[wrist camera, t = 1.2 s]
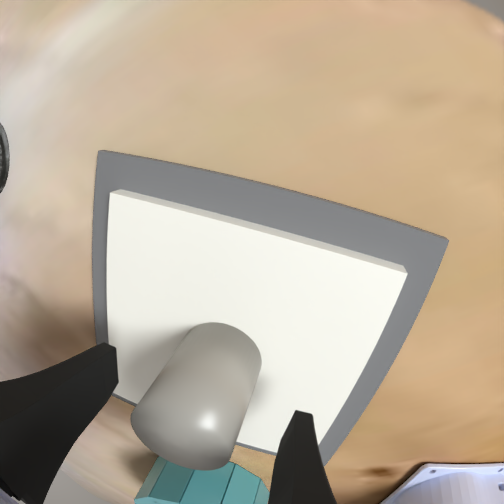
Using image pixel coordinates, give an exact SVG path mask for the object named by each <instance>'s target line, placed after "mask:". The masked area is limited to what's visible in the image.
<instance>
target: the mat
mask: <svg viewBox="0 0 504 504" xmlns="http://www.w3.org/2000/svg"><path fill="white" fill-rule="evenodd" d="M120 189H122V190H126V191H131V192H135V193H139V194H143V195H147V196H151V197H155V198H159V199H163V200H167V201H171V202H175V203H179V204H183V205H187V206H191V207H195V208H199V209H203V210H207V211H210V212H214V213H218V214H222V215H226V216H230V217H233V218H237V219H241V220H245V221H248V222H252V223H256V224H260V225H263V226H267V227H271V228H274V229H278V230H282V231H285V232H289V233H292V234H296V235H300V236H303V237H307V238H310V239H314V240H317V241H321V242H325V243H328V244H332V245H335V246H338V247H342V248H345V249H349V250H352V251H356V252H359V253H363V254H366V255H369V256H373V257H376V258H380V259H383V260H386V261H390V262H393V263H396V264H399V265H403V266H404V268H405V270H406V272H407V273H408V274H407V277H406V279H405V282H404V284H403V287H402V289H401V291H400V294H399V296H398V298H397V301H396V303H395V305H394V307H393V310H392V312H391V314H390V316H389V319H388V321H387V323H386V325H385V327H384V329H383V331H382V333H381V336H380V338H379V340H378V342H377V344H376V346H375V348H374V350H373V352H372V354H371V356H370V358H369V360H368V361H367V363H366V365H365V367H364V369H363V371H362V373H361V375H360V377H359V378H358V380H357V382H356V384H355V386H354V387H353V389H352V391H351V393H350V395H349V396H348V398H347V400H346V401H345V403H344V405H343V407H342V408H341V410H340V412H339V413H338V415H337V417H336V418H335V420H334V422H333V423H332V425H331V426H330V428H329V430H328V431H327V433H326V434H325V436H324V437H323V439H322V440H321V442H320V444H319V445H318V447H319V451H320V455H321V459H322V462H323V466H325V465H326V464H327V463H328V461H329V460H330V459H331V457H332V456H333V455H334V453H335V452H336V451H337V449H338V448H339V446H340V445H341V444H342V442H343V441H344V440H345V438H346V437H347V435H348V434H349V432H350V431H351V430H352V428H353V427H354V425H355V424H356V422H357V421H358V419H359V418H360V416H361V415H362V413H363V412H364V410H365V409H366V407H367V405H368V404H369V402H370V401H371V399H372V398H373V396H374V394H375V393H376V391H377V389H378V388H379V386H380V384H381V383H382V381H383V379H384V378H385V376H386V374H387V373H388V371H389V369H390V367H391V365H392V364H393V362H394V360H395V358H396V356H397V355H398V353H399V351H400V349H401V347H402V345H403V343H404V342H405V340H406V338H407V336H408V334H409V332H410V330H411V328H412V326H413V324H414V322H415V320H416V318H417V316H418V313H419V311H420V309H421V307H422V305H423V303H424V301H425V298H426V296H427V294H428V292H429V289H430V287H431V285H432V283H433V280H434V278H435V275H436V273H437V271H438V268H439V266H440V263H441V261H442V258H443V256H444V253H445V250H446V248H447V245H448V242H449V240H448V239H447V238H445V237H442V236H440V235H437V234H434V233H431V232H428V231H425V230H422V229H419V228H416V227H413V226H410V225H407V224H404V223H401V222H398V221H395V220H392V219H389V218H386V217H383V216H379V215H376V214H373V213H370V212H366V211H363V210H360V209H356V208H353V207H350V206H346V205H343V204H340V203H336V202H333V201H329V200H326V199H322V198H318V197H315V196H311V195H308V194H304V193H300V192H296V191H293V190H289V189H285V188H281V187H277V186H273V185H269V184H265V183H261V182H257V181H253V180H249V179H245V178H241V177H236V176H232V175H228V174H224V173H219V172H215V171H210V170H206V169H201V168H196V167H192V166H187V165H182V164H177V163H172V162H167V161H162V160H157V159H152V158H146V157H141V156H136V155H130V154H124V153H118V152H113V151H107V150H100V151H98V158H97V168H96V180H95V193H94V210H93V241H92V271H93V302H94V319H95V332H96V344H97V345H99V344H101V343H103V342H105V343H107V344H109V340H108V321H107V233H108V214H109V200H110V192H113V191H116V190H120ZM112 396H114V397H116V398H118V399H120V400H123V401H125V402H127V403H129V404H131V405H133V406H135V407H136V406H137V404H136V403H134V402H132V401H129V400H127V399H125V398H123V397H121V396H119V395H117V394H115V393H112ZM235 445H239V446H242V447H246V448H249V449H253V450H256V451H260V452H263V453H267V454H271V455H275V456H276V455H277V453H276V452H272V451H268V450H264V449H260V448H257V447H253V446H250V445H246V444H243V443H240V442H236V444H235Z"/></svg>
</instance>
